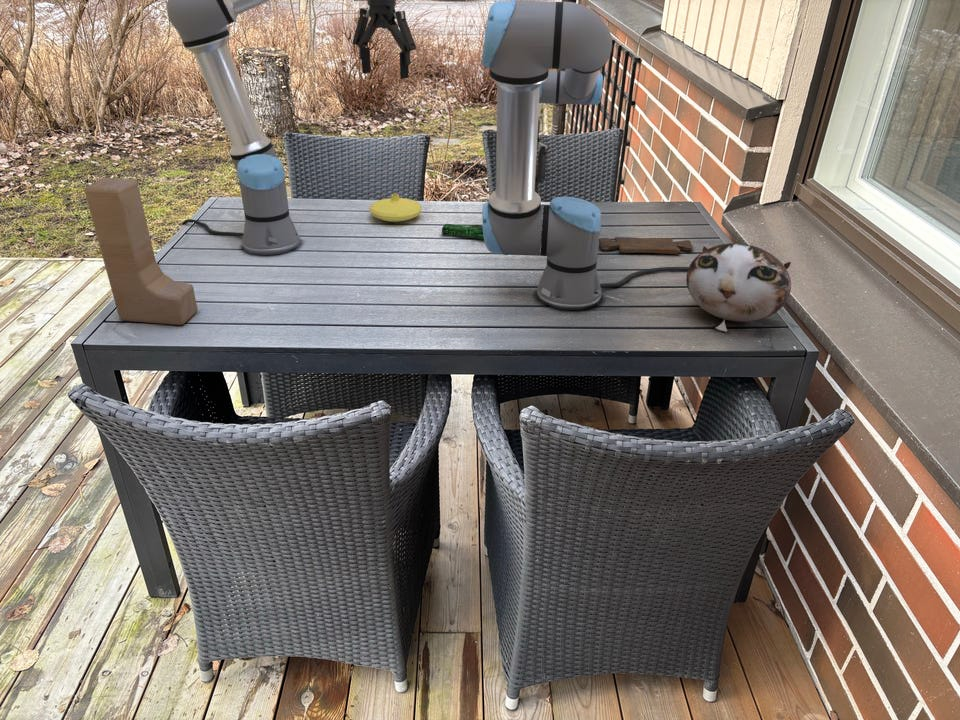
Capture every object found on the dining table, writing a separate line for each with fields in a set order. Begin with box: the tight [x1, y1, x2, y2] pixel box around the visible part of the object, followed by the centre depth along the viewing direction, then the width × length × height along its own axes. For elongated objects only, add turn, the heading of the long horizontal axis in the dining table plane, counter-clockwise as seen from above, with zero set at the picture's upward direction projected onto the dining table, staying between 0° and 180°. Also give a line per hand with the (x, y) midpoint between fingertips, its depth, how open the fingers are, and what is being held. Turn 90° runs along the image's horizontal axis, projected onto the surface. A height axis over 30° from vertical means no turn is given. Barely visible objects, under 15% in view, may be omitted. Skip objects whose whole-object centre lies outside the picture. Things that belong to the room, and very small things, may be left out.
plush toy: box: [685, 242, 792, 332], centre depth 158 cm, size 22×18×20 cm
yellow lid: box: [369, 193, 422, 223], centre depth 215 cm, size 16×16×7 cm
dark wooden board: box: [599, 236, 693, 255], centre depth 198 cm, size 26×2×10 cm
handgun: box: [441, 223, 485, 242], centre depth 207 cm, size 16×3×15 cm
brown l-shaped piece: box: [83, 177, 198, 326], centre depth 152 cm, size 8×15×30 cm, turn 82°
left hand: (385, 75), depth 197 cm, fingers open, 13 cm apart
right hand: (522, 203), depth 200 cm, fingers closed on block, 5 cm apart
